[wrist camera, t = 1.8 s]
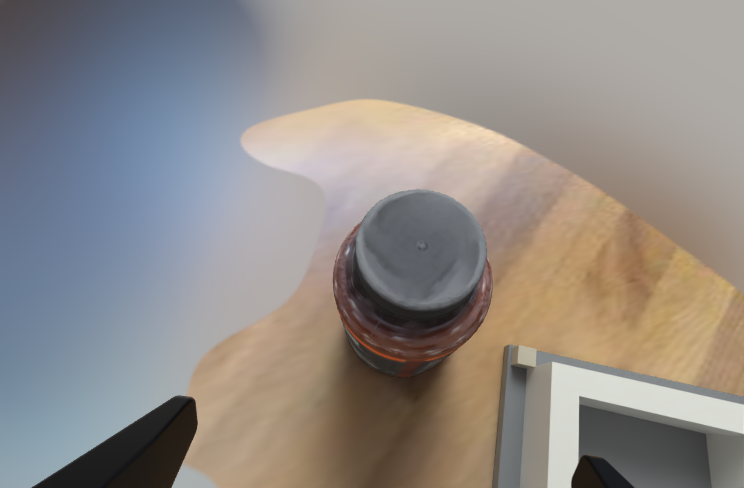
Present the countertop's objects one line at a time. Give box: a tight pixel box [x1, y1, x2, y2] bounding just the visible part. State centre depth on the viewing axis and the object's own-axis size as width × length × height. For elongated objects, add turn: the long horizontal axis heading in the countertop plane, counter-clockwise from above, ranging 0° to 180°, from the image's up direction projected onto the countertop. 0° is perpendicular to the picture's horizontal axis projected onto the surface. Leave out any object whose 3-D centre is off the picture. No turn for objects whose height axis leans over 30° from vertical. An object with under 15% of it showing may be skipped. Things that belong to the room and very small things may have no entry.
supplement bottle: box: [333, 189, 493, 377], centre depth 17 cm, size 6×6×11 cm
